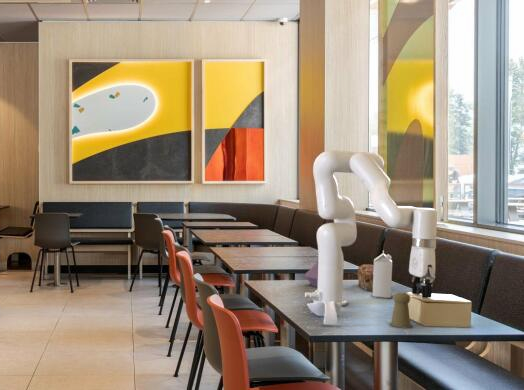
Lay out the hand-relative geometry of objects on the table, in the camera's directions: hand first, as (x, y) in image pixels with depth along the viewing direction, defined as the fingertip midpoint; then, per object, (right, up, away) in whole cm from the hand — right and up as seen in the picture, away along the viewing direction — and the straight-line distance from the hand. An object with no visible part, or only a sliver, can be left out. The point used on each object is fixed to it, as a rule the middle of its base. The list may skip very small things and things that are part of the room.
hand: (421, 294), depth 217 cm
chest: (+6, -10, 0) cm, 11 cm away
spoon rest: (-32, -9, +2) cm, 34 cm away
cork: (-10, -10, -6) cm, 15 cm away
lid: (+6, -1, 0) cm, 6 cm away
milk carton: (+5, -8, +47) cm, 48 cm away
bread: (+8, -8, +66) cm, 67 cm away
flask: (-14, -7, +70) cm, 72 cm away
